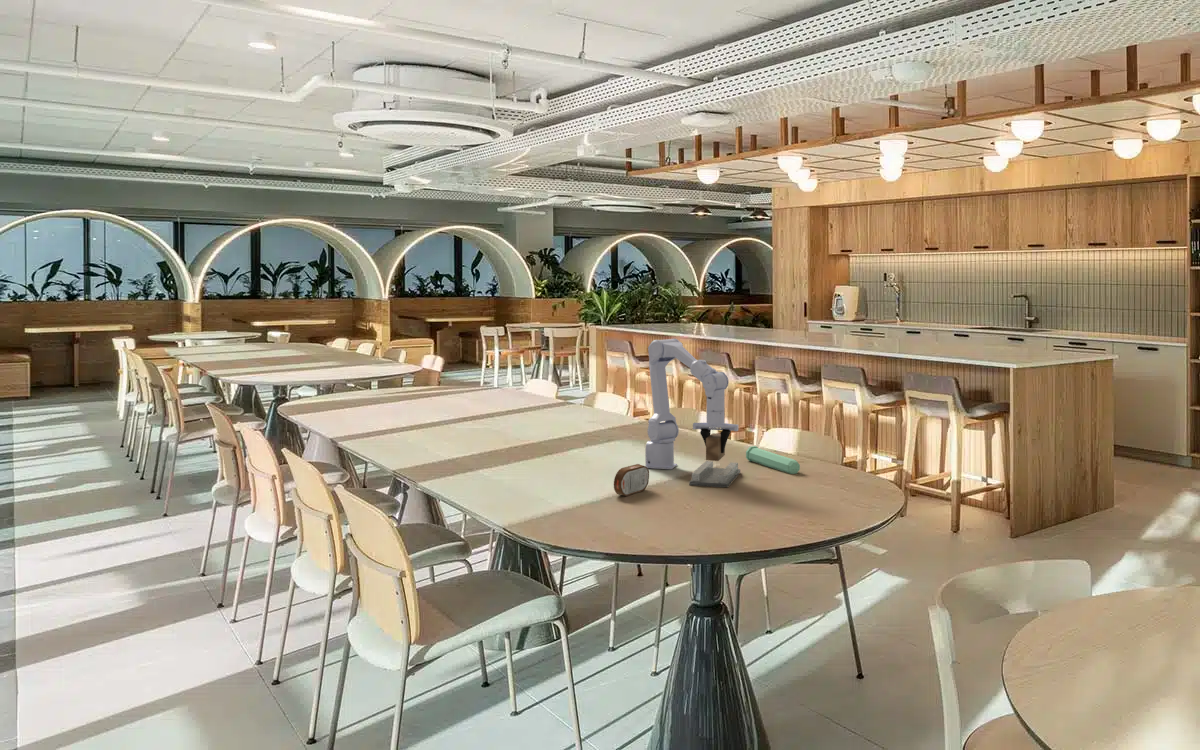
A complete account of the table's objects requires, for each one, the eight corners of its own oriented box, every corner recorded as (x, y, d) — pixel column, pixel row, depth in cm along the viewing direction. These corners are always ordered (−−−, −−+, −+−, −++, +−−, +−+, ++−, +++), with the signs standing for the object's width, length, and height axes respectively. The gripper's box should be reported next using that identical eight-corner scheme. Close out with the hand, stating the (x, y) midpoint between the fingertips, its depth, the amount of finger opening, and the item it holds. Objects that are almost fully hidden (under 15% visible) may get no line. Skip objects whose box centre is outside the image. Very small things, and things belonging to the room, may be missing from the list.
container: (800, 456, 294) (756, 442, 316) (786, 464, 292) (743, 450, 314) (805, 471, 295) (761, 457, 318) (791, 480, 293) (748, 465, 316)
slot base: (689, 485, 280) (689, 473, 280) (704, 470, 301) (704, 460, 300) (727, 487, 276) (727, 476, 276) (740, 472, 297) (740, 462, 296)
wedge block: (705, 460, 283) (705, 438, 283) (712, 454, 293) (712, 433, 292) (718, 460, 282) (718, 439, 281) (724, 455, 292) (724, 433, 291)
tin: (643, 488, 277) (642, 461, 276) (651, 489, 275) (651, 462, 274) (612, 497, 266) (612, 469, 265) (621, 499, 264) (620, 471, 263)
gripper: (690, 411, 285) (690, 453, 286) (735, 413, 280) (735, 455, 281) (695, 408, 291) (695, 449, 293) (739, 409, 286) (739, 451, 288)
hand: (715, 452), depth 287 cm, fingers closed on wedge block, 4 cm apart
